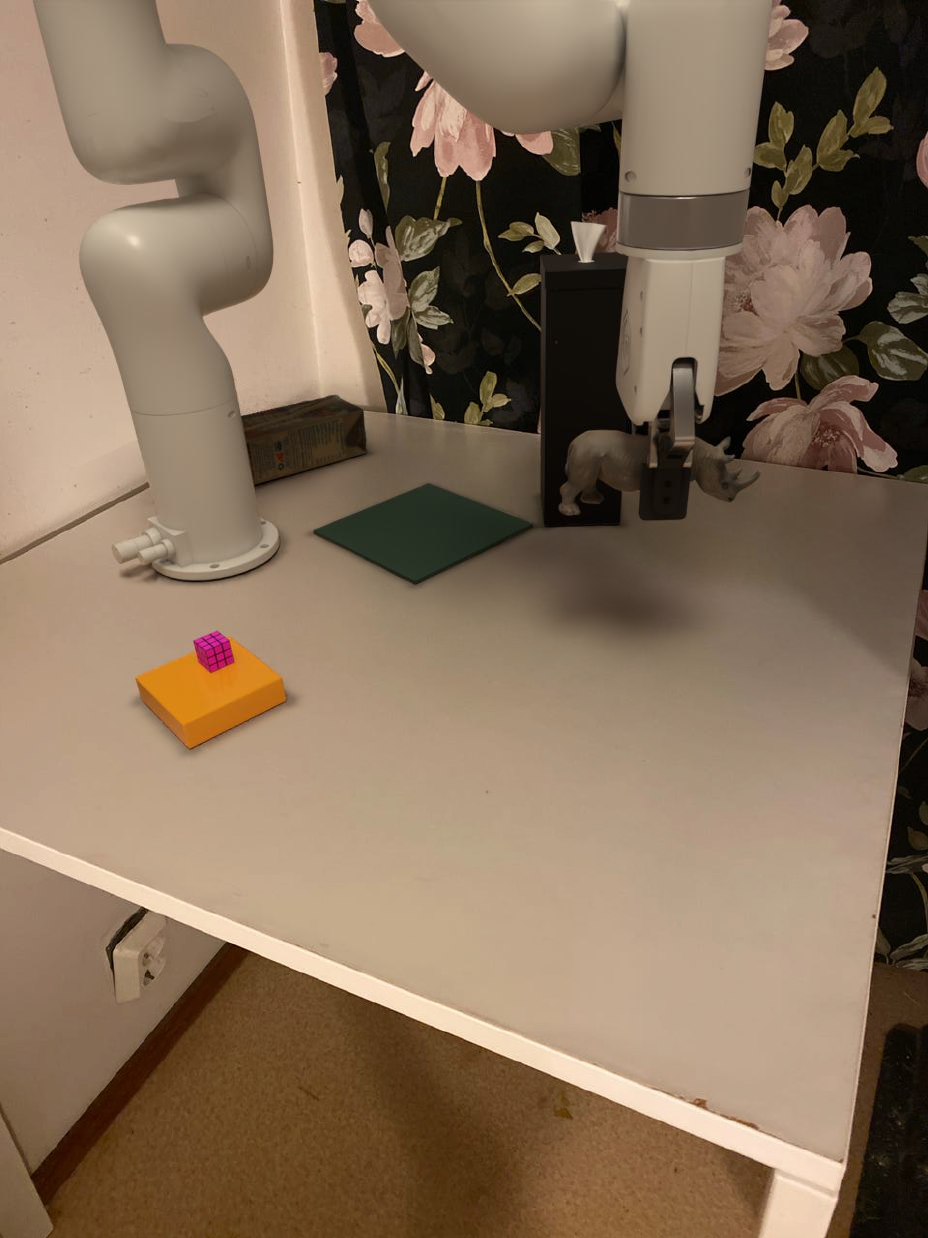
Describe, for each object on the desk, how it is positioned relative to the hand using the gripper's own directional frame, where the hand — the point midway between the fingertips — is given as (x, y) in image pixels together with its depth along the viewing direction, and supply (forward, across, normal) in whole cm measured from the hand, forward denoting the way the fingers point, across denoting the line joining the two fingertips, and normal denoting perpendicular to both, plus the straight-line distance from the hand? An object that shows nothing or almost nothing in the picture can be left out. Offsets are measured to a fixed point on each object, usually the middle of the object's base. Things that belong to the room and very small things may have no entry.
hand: (656, 500), depth 61 cm
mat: (+13, -23, -19) cm, 33 cm away
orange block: (+13, +5, -33) cm, 36 cm away
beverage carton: (+14, -42, -37) cm, 58 cm away
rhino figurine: (+1, 0, 0) cm, 1 cm away
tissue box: (+13, -27, -3) cm, 30 cm away
